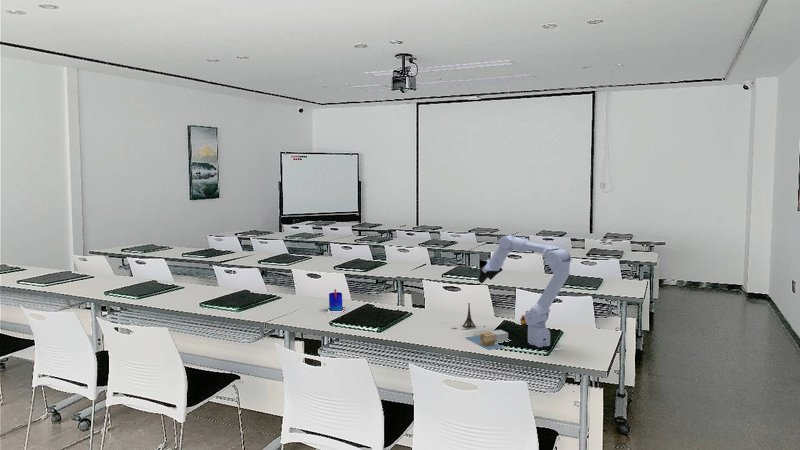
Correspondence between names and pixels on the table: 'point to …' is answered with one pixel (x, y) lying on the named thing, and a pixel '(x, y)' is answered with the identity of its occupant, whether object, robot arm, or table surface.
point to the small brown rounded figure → (523, 319)
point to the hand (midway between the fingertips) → (484, 280)
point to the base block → (500, 335)
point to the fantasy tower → (335, 301)
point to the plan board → (477, 341)
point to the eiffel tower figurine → (468, 321)
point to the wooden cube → (487, 339)
